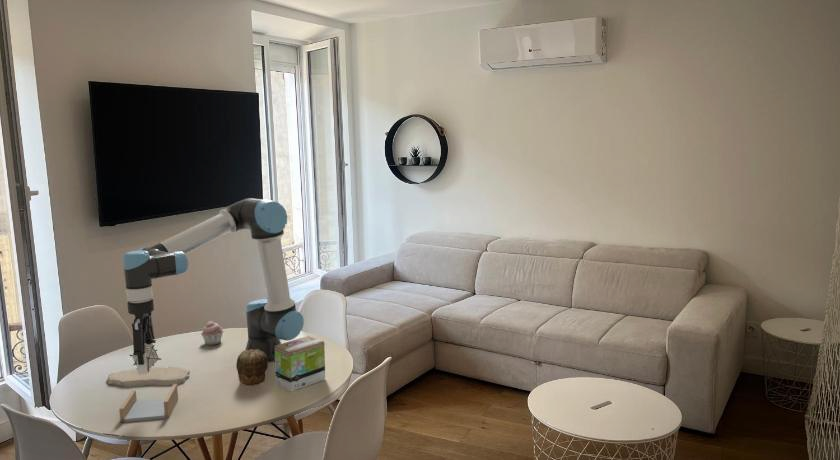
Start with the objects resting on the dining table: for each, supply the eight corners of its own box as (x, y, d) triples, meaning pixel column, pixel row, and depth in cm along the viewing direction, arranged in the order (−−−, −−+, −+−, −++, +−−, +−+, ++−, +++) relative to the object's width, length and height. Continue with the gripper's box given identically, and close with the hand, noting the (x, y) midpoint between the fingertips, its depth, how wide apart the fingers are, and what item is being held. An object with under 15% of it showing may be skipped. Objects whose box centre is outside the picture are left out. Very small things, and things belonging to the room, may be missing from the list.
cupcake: (229, 341, 269) (227, 319, 267) (210, 348, 262) (208, 325, 260) (216, 337, 275) (214, 315, 273) (197, 343, 267) (195, 321, 266)
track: (178, 399, 211) (176, 384, 210) (169, 417, 198) (167, 401, 197) (133, 403, 209) (131, 387, 208) (120, 422, 195) (118, 405, 194)
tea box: (292, 392, 215) (290, 351, 213) (275, 385, 222) (272, 345, 219) (326, 379, 226) (324, 340, 223) (309, 372, 232) (307, 334, 230)
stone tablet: (183, 386, 224) (182, 379, 223) (99, 388, 223) (98, 381, 223) (198, 369, 240) (198, 363, 240) (120, 371, 239) (119, 365, 239)
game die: (143, 379, 202) (137, 350, 206) (168, 368, 203) (161, 340, 207) (128, 375, 194) (122, 345, 198) (154, 364, 194) (147, 334, 198)
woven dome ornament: (241, 390, 217) (239, 357, 216) (234, 379, 227) (232, 348, 225) (272, 384, 222) (270, 352, 221) (264, 374, 232) (262, 343, 230)
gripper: (136, 292, 207) (142, 357, 210) (117, 309, 186) (124, 382, 190) (160, 290, 208) (166, 356, 212) (144, 308, 188) (150, 379, 191)
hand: (146, 368), depth 201 cm, fingers closed on game die, 8 cm apart
